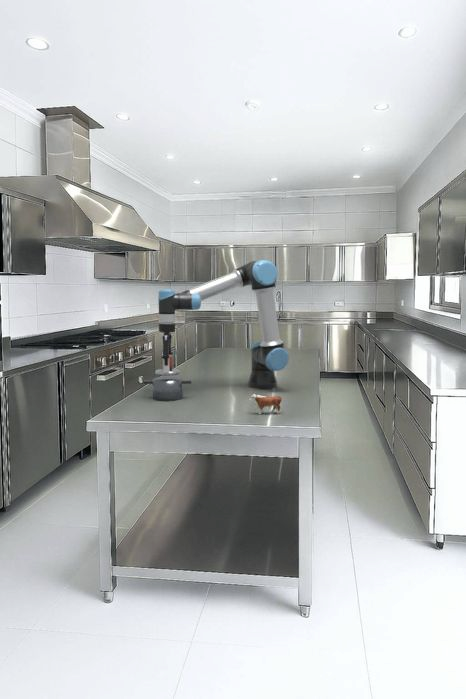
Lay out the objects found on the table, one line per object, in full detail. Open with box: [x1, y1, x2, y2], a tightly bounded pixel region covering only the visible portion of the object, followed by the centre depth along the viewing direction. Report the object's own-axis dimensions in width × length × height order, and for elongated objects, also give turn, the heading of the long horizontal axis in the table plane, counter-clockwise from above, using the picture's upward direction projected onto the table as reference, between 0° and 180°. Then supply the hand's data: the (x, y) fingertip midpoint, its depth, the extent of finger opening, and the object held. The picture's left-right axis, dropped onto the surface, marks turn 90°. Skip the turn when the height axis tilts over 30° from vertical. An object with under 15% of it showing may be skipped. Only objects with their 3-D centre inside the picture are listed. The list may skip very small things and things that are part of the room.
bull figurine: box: [248, 393, 282, 416], centre depth 228 cm, size 4×13×8 cm, turn 95°
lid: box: [154, 355, 180, 377], centre depth 256 cm, size 11×11×8 cm
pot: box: [142, 376, 192, 402], centre depth 257 cm, size 22×14×9 cm, turn 92°
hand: (167, 370), depth 256 cm, fingers closed on lid, 11 cm apart
